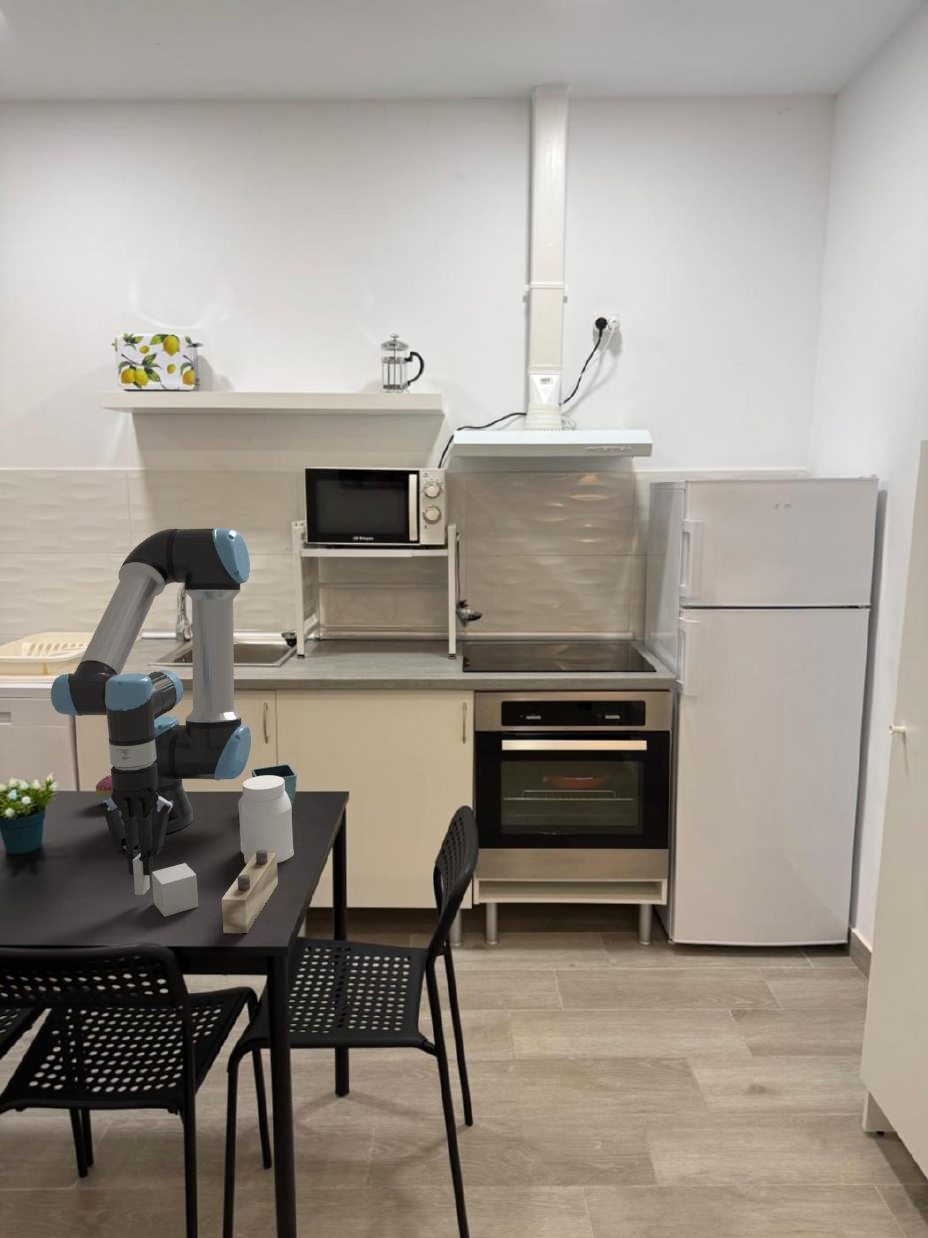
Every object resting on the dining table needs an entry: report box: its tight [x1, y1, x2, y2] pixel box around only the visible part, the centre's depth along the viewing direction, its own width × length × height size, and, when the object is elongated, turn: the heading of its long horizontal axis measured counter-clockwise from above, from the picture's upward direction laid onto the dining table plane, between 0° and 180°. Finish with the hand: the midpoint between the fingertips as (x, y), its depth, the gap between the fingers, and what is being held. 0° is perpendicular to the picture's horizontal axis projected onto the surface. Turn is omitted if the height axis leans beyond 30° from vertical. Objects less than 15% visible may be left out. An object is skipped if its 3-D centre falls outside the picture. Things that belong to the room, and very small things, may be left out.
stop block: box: [221, 850, 279, 934], centre depth 151 cm, size 4×18×8 cm, turn 176°
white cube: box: [151, 862, 199, 917], centre depth 152 cm, size 6×6×6 cm
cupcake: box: [95, 774, 119, 809], centre depth 199 cm, size 9×8×12 cm
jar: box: [237, 775, 295, 865], centre depth 172 cm, size 12×10×15 cm
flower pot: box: [251, 763, 298, 807], centre depth 196 cm, size 9×9×9 cm
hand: (142, 891), depth 153 cm, fingers closed
